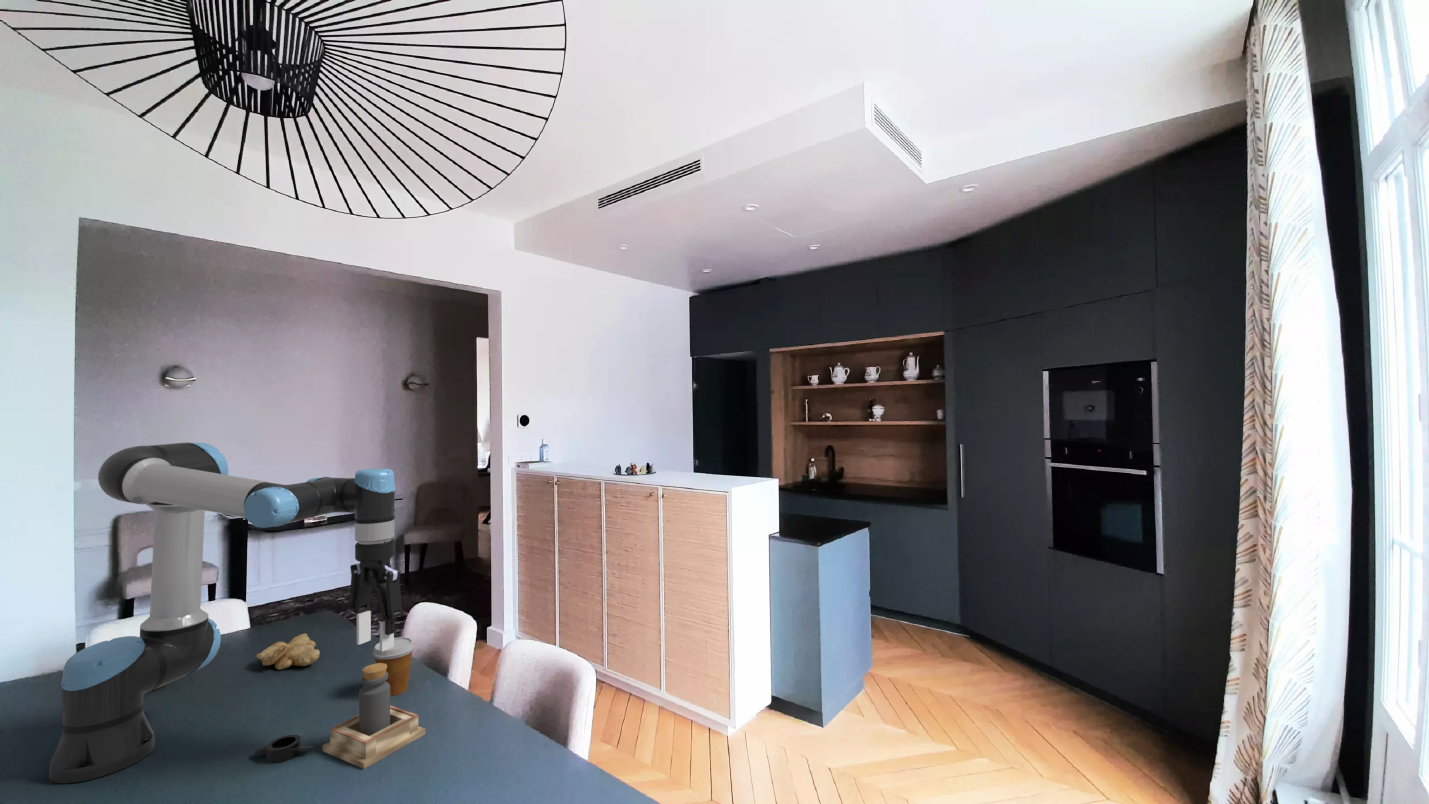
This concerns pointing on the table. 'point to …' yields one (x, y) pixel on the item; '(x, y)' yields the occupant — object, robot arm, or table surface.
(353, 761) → the holder block
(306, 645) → the ginger root
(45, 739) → the table surface
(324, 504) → the robot arm
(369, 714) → the bottle
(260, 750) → the dark winged oval cup
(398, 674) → the disposable coffee cup
